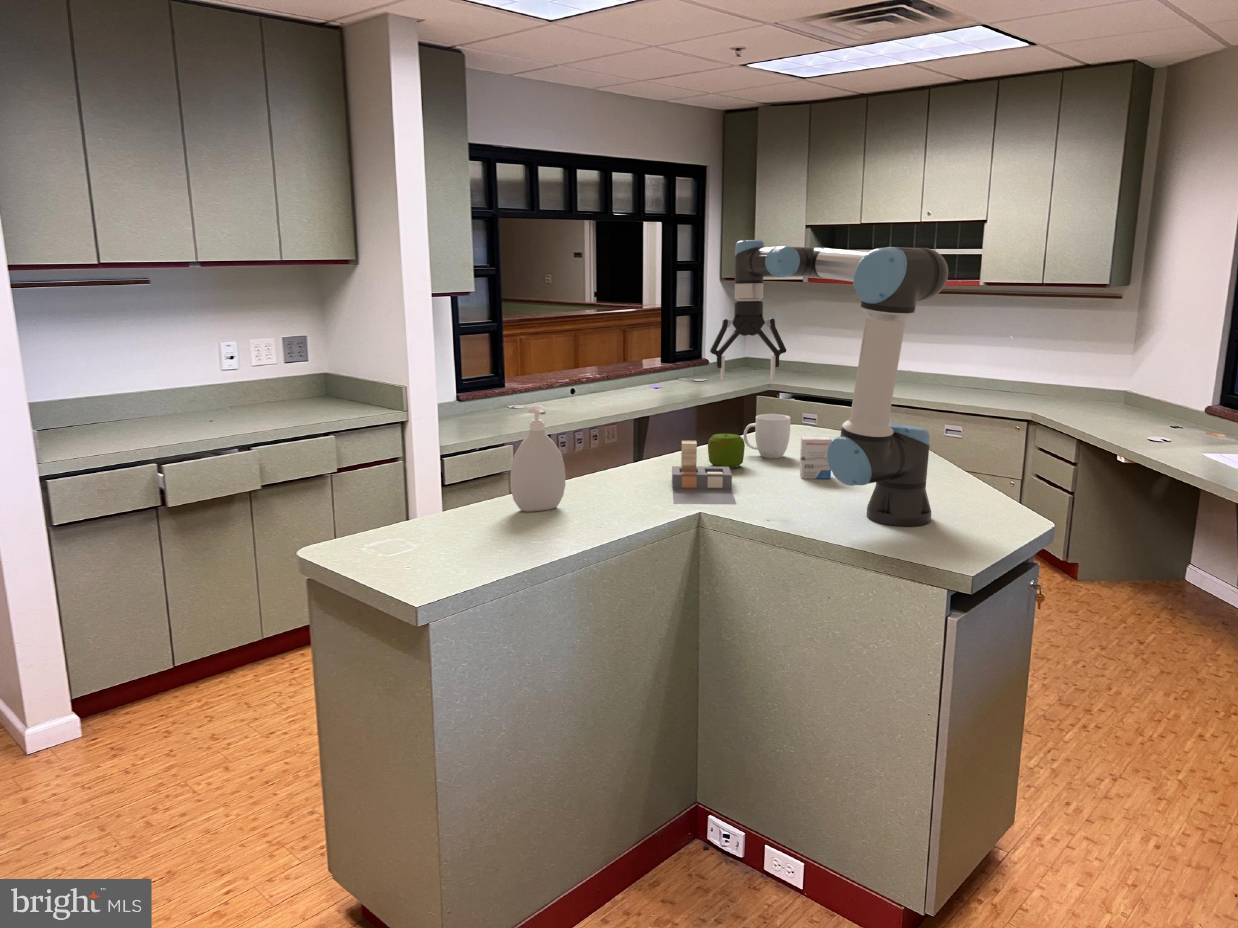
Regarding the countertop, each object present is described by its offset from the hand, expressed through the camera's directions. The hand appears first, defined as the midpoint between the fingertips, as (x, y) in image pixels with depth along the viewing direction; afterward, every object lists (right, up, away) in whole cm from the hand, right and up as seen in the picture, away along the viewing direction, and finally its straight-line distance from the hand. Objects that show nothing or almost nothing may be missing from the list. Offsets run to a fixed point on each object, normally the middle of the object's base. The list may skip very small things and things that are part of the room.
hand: (747, 380), depth 238 cm
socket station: (-12, -31, -1) cm, 34 cm away
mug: (+14, -20, +47) cm, 53 cm away
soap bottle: (-55, -35, -15) cm, 67 cm away
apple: (-2, -24, +33) cm, 41 cm away
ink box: (+22, -27, +19) cm, 40 cm away
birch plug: (-16, -28, +6) cm, 33 cm away
